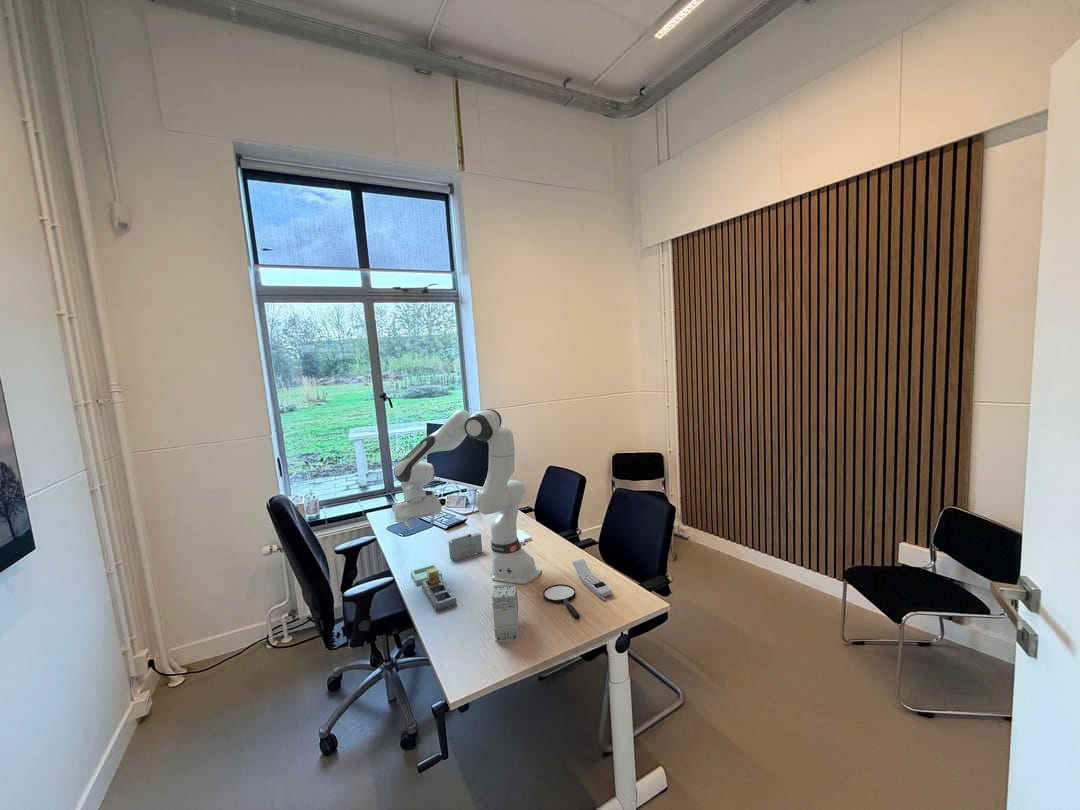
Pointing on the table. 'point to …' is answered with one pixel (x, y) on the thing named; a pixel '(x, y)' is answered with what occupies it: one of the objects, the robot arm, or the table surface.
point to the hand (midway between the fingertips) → (421, 525)
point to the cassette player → (465, 546)
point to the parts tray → (422, 573)
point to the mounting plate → (523, 536)
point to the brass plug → (432, 576)
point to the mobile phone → (591, 580)
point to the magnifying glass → (561, 597)
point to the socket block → (439, 595)
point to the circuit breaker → (505, 612)
